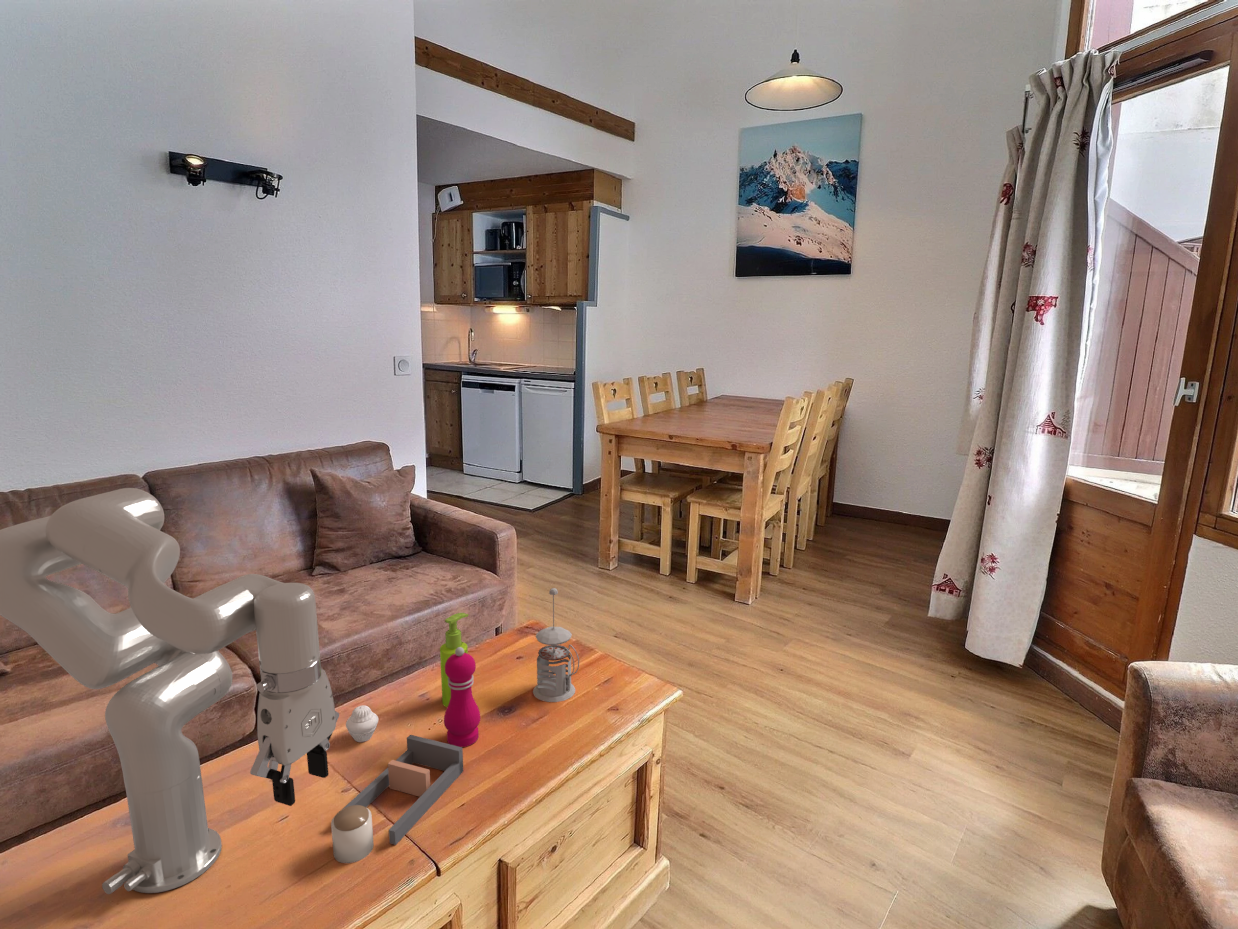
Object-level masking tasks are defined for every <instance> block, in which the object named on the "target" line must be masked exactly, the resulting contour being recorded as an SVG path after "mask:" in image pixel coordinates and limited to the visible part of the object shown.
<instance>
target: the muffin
mask: <svg viewBox="0 0 1238 929" xmlns="http://www.w3.org/2000/svg"><path fill="white" fill-rule="evenodd" d="M378 724H379V716H378V715H377V714H376V713H375V712H373V711H372V709H371V708H370V707H369V706H367V705H359V706H357V707H355V708H354V709H353V710H352V712H351V715H350V716H349V717H348V719H347V720H346V722H345V727H346V729H347V731H348V734H349V735H350V736H351V737H352V738H353V740H354V741H355V742H358V743H365V742H367V741H369V740H370V739H371V738H372V737H373V735H374V732H376V729H377V727H378V726H377V725H378Z"/></svg>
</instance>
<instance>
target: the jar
mask: <svg viewBox="0 0 1238 929" xmlns="http://www.w3.org/2000/svg"><path fill="white" fill-rule="evenodd" d="M343 808H344V807H343ZM343 808H341V809H340V810H339V811H338V812H337V813H336V814H335V815H334V816H333V817H332V819H331V823H330V827H331V838H332V850H333V857H334V860H336V861H337V862H338V863H342V864H352V863H357V862H359V861H361V860H364V859H365V858H366V857H368V856H369V855H370V854H371V852H372V851H373V849H374V833H373V832H374V831H373V818H372V817H373V816H372V811H371V809H369V808H368V807H364V806H361V805H353V806H349V807H346V808H344V809H343Z"/></svg>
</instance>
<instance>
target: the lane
mask: <svg viewBox="0 0 1238 929" xmlns="http://www.w3.org/2000/svg"><path fill="white" fill-rule="evenodd" d="M463 748H464V747H458V746H454V745H450V744H449V743H445V742H441V741H437V740H435V739H429V738H425V737H422V736H417V735H414V734H409V736H407V737H406V750H405V751H404V752H403V753H402V754H401V755H400V756H399V757H398V758H396V759H395V761H399V762H402V763H406V764H410V765H413V764H416V765H420V766H424V767H428V768H432V769H435V770H440V771H444V772H442V774H440V776H439V777H438V778H437V779H436V780H435V781H434V782H433V783H432V784H430V787H429V788H428V789H427V790H426V791H425V792H424V794H423V795H422V796H421V797H418V799H417V800H416V801H415V802H414V803H412V805H410V807H409V808H408V809H407V810H406V811H405V812H404V813H403V814H402V816H400V817H399V818H398V819H397V820H396V822H394V824H392V826H391V827H390V828H389V829H388V838H389V839H388V840H389V844H390V845H393V846H394V845H395V846H396V845H397V844H398V843H400V841H401V840H402V839H403V838H404V837H405V835H407V833H408V832H409V831H410V830H411V829H412V828H413V827H414V826H415V825H416V824H417V823H418V822H419V820H420V819H422V818H423V816H424V815H425V814H426V813H427V812H428V810H430V808H431V807H433V805H434V804H435V803H436V802H437V801H438V800H439V798H441V797H442V795H443V794H444V793H445V792H446V791H447V790H448V789H449V788H450V787H451V785H452V784H453V783H455V781H456V780H457V779H459V777H460V776H461V774H463V772H464V751H463ZM388 787H389V773H388V767H387V768H385V769H384V771H382V772H381V773H380V774H379V775H378V776H377V777H376V778H375V779H374V780H372V781H371V782H370V783H369V784H368V785H367V786H366V787H364V788H363V790H361V791H360V792H359V793H358V794H357V795H356V796H355V797H354V798H352V799H351V800H350V801H349V802H348V803H347V804H346V805H345V806H344V807H343V808H342V809H344V808H346V807H349V806H353V805H361V806H364V807H366V808H368V806H369V805H371V803H372V802H374V801H375V800H376V799H377V798H378V797H379V796H380V795H381V794H382V793H383V792H384V791H385V790H386V789H387V788H388Z"/></svg>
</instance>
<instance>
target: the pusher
mask: <svg viewBox="0 0 1238 929" xmlns="http://www.w3.org/2000/svg"><path fill="white" fill-rule="evenodd" d="M395 760H396V759H395ZM395 760H394V759H391V760H390V761H389V762H388V763H387V768H388V773H389V786H388V787H389V789H391V790H395V791H398V792H402V793H406V794H409V795H413V796H415V797H418V798H420V797H421V796H422V795H423V794H424V792H425V791H426V790H427V789H428V788H429V787H430V786H431V775H430V774H431V770H430V769H428V768H424V767H421V766H417V765H413V764H411V765H410V764H406V763H402V762H399V761H395Z"/></svg>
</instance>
